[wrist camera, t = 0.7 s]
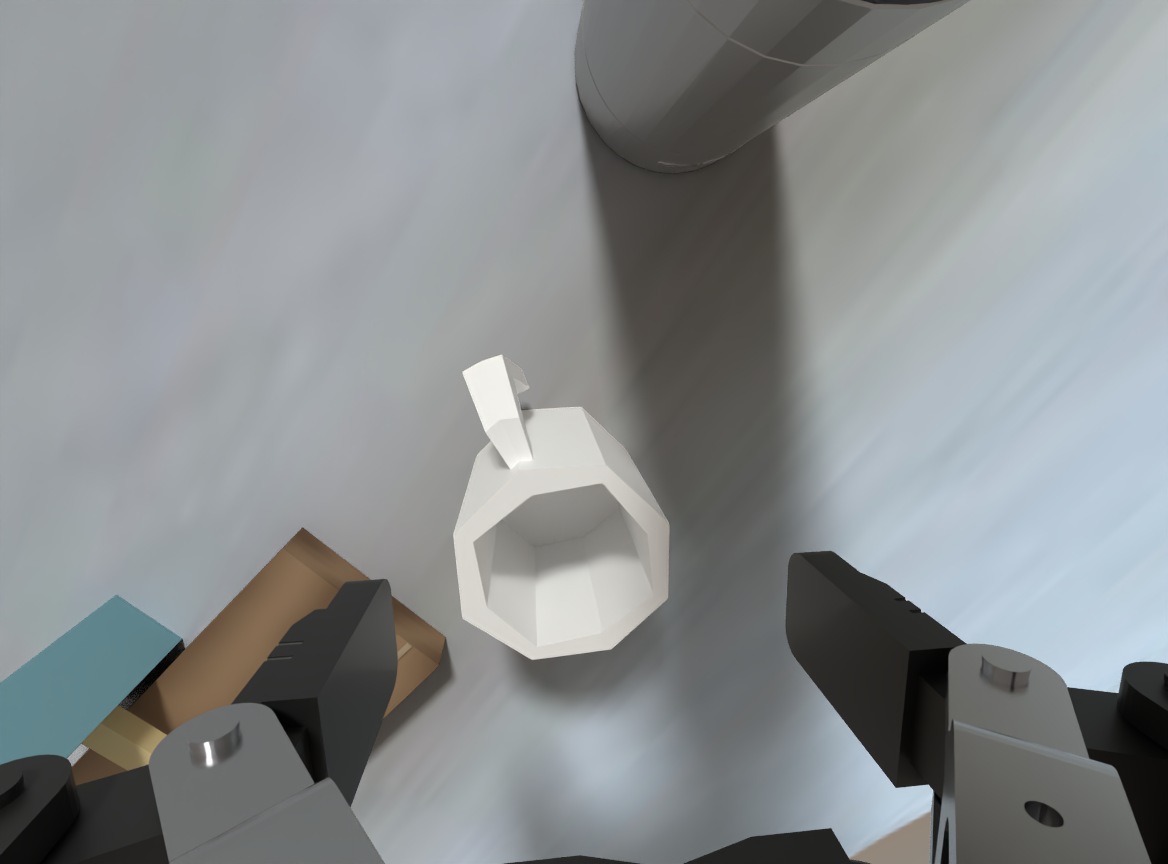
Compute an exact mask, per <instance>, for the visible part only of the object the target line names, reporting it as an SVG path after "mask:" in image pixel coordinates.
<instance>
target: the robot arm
mask: <svg viewBox="0 0 1168 864" xmlns="http://www.w3.org/2000/svg"><path fill="white" fill-rule="evenodd" d="M968 1H970V0H584V2H583V7H582V12H581V17H580V22H579V27H578V33H577V40H576V46H575V78H576V82H577V87H578V91H579V96H580V100H581V103H582V105H583V107H584V110H585V112H586V114H587V117H588V119H589V121H590V123H591V124H592V126H593V127H594V129H595V130H596V131H597V133H598V134H599V136H600V137H601V139H602V140H603V141H604V142H605V143H606V144H607V145H608V146H609V147H610V148H611V149H612V150H613V151H615V152H616V153H617V154H618V155H619V156H621V157H622V158H624V159H626V160H627V161H629V162H631V163H632V164H634V165H636V166H639V167H642V168H645V169H648V170H651V171H654V172H663V173H681V172H688V171H695V170H697V169H700V168H702V167H705V166H707V165H710V164H712V163H714V162H716V161H718V160H719V159H721V158H724V157H726V156H728V155H729V154H731V153H732V152H734V151H736V150H737V149H739V148H740V147H742V146H743V145H744V144H745V143H747V142H748V141H750V140H751V139H753V138H755V137H756V136H758V135H759V134H761V133H763V132H764V131H766V130H767V129H769V128H770V127H772V126H774V125H775V124H777V123H778V122H780V121H781V120H783V119H785V118H786V117H788V116H789V115H791V114H792V113H794V112H796V111H797V110H799V109H800V108H802V107H804V106H805V105H807V104H808V103H810V102H811V101H813V100H815V99H816V98H818V97H819V96H821V95H822V94H824V93H826V92H827V91H829V90H830V89H832V88H833V87H835V86H837V85H838V84H840V83H841V82H843V81H844V80H846V79H848V78H849V77H851V76H852V75H854V74H855V73H857V72H859V71H860V70H862V69H863V68H865V67H867V66H868V65H870V64H871V63H873V62H874V61H876V60H878V59H879V58H881V57H882V56H884V55H885V54H887V53H889V52H890V51H892V50H893V49H895V48H896V47H898V46H900V45H901V44H903V43H904V42H906V41H907V40H909V39H911V38H912V37H914V36H915V35H917V34H918V33H920V32H921V31H923V30H924V29H926V28H928V27H929V26H931V25H932V24H934V23H935V22H937V21H939V20H940V19H942V18H943V17H945V16H946V15H948V14H950V13H951V12H953V11H954V10H956V9H957V8H959V7H961V6H962V5H964V4H965V3H967V2H968ZM786 635H787V640H788V643H789V646H790V649H791V651H792V653H793V655H794V657H795V658H796V660H797V661H798V662H799V663H800V665H801V666H802V667H803V669H804V670H805V671H806V672H807V674H808V675H809V676H810V678H811V679H812V680H813V681H814V683H815V684H816V685H817V687H818V688H819V689H820V691H821V692H822V693H823V694H824V696H825V697H826V698H827V700H828V701H829V702H830V703H831V705H832V706H833V707H834V709H835V710H836V711H837V712H838V714H839V715H840V716H841V718H842V719H843V720H844V721H845V723H846V724H847V725H848V727H849V728H850V729H851V730H852V732H853V733H854V734H855V736H856V737H857V738H858V739H859V741H860V742H861V743H862V745H863V746H864V747H865V749H866V750H867V751H868V752H869V754H870V755H871V756H872V758H873V759H874V760H875V761H876V763H877V764H878V765H879V767H880V768H881V769H882V770H883V772H884V773H885V774H886V776H887V777H888V778H889V779H890V781H891V782H892V783H893V785H894V786H895V787H896V788H899V787H909V786H919V785H928V784H929V785H930V787H931V788H932V789H933V798H932V807H931V829H930V860H929V864H1168V664H1165V663H1158V662H1135V663H1131V664H1128V665H1127V666H1125V667H1124V669H1123V672H1122V678H1121V683H1120V689H1119V693H1111V692H1103V691H1094V690H1086V689H1077V688H1069V687H1067V686H1066V684H1065V682H1064V680H1063V679H1062V678H1061V676H1060V675H1059V674H1057V673H1056V672H1055V671H1054V670H1053V669H1051V668H1050V667H1048V666H1047V665H1045V664H1044V663H1042V662H1040V661H1038V660H1036V659H1034V658H1032V657H1030V656H1028V655H1025V654H1023V653H1020V652H1017V651H1014V650H1011V649H1007V648H1003V647H999V646H994V645H987V644H966V643H965V642H963V641H962V640H961V639H959V638H958V637H957V636H955V635H954V634H953V633H951V632H950V631H949V630H947V629H946V628H945V627H943V626H942V625H941V624H939V623H938V622H937V621H935V620H934V619H933V618H931V617H930V616H929V615H927V614H926V613H925V612H924V613H921V609H919V608H918V607H917V606H915V605H914V604H913V603H911V602H910V601H906V600H905V597H903V596H902V595H901V594H899V593H898V592H897V591H895V590H894V589H893V588H891V587H890V586H889V585H887V584H886V583H883V582H881V581H879V580H876V579H874V578H872V577H870V576H867V575H865V574H863V573H860V572H859V571H857V570H856V569H855V568H854V567H852V566H851V565H850V564H848V563H847V562H846V561H845V560H843V559H842V558H841V557H839V556H838V555H837V554H836V553H834V552H832V551H821V552H805V553H794V554H793V555H792V556H791V558H790V560H789V566H788V584H787V604H786ZM397 667H398V654H397V643H396V634H395V624H394V614H393V605H392V595H391V588H390V584H389V582H388V580H387V579H378V580H363V581H347V582H345V583H344V584H343V586H342V587H341V588H340V590H339V591H338V593H337V594H336V596H335V597H334V598H333V600H332V601H331V603H330V604H329V606H328V607H327V608H326V609H315V610H314V611H312V612H311V613H309V614H308V615H306V616H305V617H303V618H302V619H300V620H299V621H298V622H296V623H295V624H293V625H292V626H291V627H290V629H289V630H288V631H287V633H286V634H285V635H284V636H283V638H282V639H281V640H280V642H279V645H278V646H276V647H275V648H274V649H273V651H272V652H271V653H270V654H269V656H268V657H267V661H264V662H263V664H262V665H261V666H260V667H259V669H258V670H257V671H256V673H255V674H254V675H253V676H252V678H251V679H250V680H249V682H248V683H247V684H246V685H245V687H244V688H243V689H242V691H241V692H240V693H239V695H238V696H237V697H236V698H235V700H234V701H233V702H232V704H231V705H227V706H223V707H220V708H216V709H213V710H210V711H208V712H205V713H203V714H201V715H198V716H196V717H194V718H192V719H190V720H189V721H187V722H185V723H183V724H182V725H180V726H179V727H177V728H176V729H174V730H173V731H172V732H171V733H169V734H168V735H167V736H166V737H165V738H164V739H163V740H162V741H161V742H160V743H159V744H158V745H157V746H156V748H155V749H154V751H153V752H152V754H151V756H150V760H149V764H148V765H145V766H142V767H139V768H135V769H132V770H128V771H125V772H121V773H118V774H115V775H111V776H108V777H104V778H101V779H97V780H94V781H90V782H87V783H83V784H80V785H76V783H75V779H74V775H73V771H72V766H71V763H70V762H69V760H68V759H66V758H64V757H62V756H59V755H49V754H47V755H36V756H30V757H25V758H21V759H17V760H13V761H10V762H7V763H4V764H1V765H0V864H385V863H384V861H383V860H382V858H381V857H380V855H379V853H378V852H377V850H376V849H375V847H374V845H373V844H372V842H371V840H370V839H369V837H368V836H367V834H366V832H365V831H364V829H363V827H362V826H361V824H360V823H359V821H358V819H357V818H356V816H355V815H354V813H353V811H352V810H351V808H350V807H351V804H352V802H353V799H354V796H355V794H356V791H357V788H358V785H359V783H360V780H361V777H362V774H363V772H364V769H365V766H366V764H367V761H368V758H369V755H370V753H371V750H372V747H373V745H374V742H375V739H376V736H377V734H378V731H379V728H380V726H381V723H382V720H383V717H384V715H385V712H386V709H387V706H388V704H389V701H390V698H391V696H392V693H393V690H394V687H395V683H396V677H397ZM506 864H638V863H631V862H624V861H616V860H609V859H602V858H595V857H587V856H570V857H561V858H552V859H543V860H533V861H524V862H515V863H506ZM684 864H870V863H865V862H862V861H856V860H850V859H849V858H848V856H847V855H846V853H845V851H844V849H843V848H842V846H841V844H840V843H839V841H838V839H837V838H836V836H835V834H834V832H833V831H832V829H831V828H829V829H820V830H811V831H802V832H792V833H783V834H774V835H765V836H755V837H750V838H747V839H745V840H742V841H740V842H737V843H735V844H732V845H730V846H727V847H725V848H722V849H720V850H717V851H715V852H712V853H710V854H707V855H705V856H702V857H699V858H697V859H694V860H692V861H689V862H687V863H684Z"/></svg>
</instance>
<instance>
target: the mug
mask: <svg viewBox="0 0 1168 864" xmlns="http://www.w3.org/2000/svg"><path fill="white" fill-rule="evenodd" d="M462 373H463V376H464V378H465V381H466V383H467V386H468V388H469V391H470V394H471V396H472V399H473V401H474V404H475V406H476V409H477V412H478V414H479V417H480V419H481V422H482V425H483V427H484V430H485V432H486V434H487V435H488V437H489V438H490V440H491V441H490V442H489V443H488V444H487V445H486V446H485V447H484V448H483V449H482V450H481V451H480V452H479V453H478V454H477V456H476V460H475V463H474V466H473V470H472V473H471V476H470V480H469V483H468V487H467V490H466V493H465V497H464V500H463V504H462V507H461V510H460V514H459V517H458V520H457V524H456V527H455V531H454V534H453V537H454V546H455V555H456V564H457V573H458V583H459V592H460V601H461V610H462V618H463V619H464V620H466V621H468V622H469V623H471V624H473V625H474V626H476V627H478V628H479V629H481V630H483V631H484V632H486V633H488V634H489V635H491V636H493V637H494V638H496V639H498V640H499V641H501V642H503V643H504V644H506V645H508V646H509V647H511V648H513V649H514V650H516V651H518V652H520V653H521V654H523V655H525V656H526V657H528V658H530V659H531V660H536V659H544V658H551V657H558V656H566V655H573V654H581V653H588V652H596V651H603V650H611V649H612V648H613V647H614V646H616V645H617V644H618V643H619V642H620V641H621V640H622V639H623V638H625V637H626V636H627V635H628V634H629V633H630V632H631V631H632V630H633V629H635V628H636V627H637V626H638V625H639V624H640V623H641V622H642V621H644V620H645V619H646V618H647V617H648V616H649V615H650V614H651V613H652V612H654V611H655V610H656V609H657V608H658V607H659V606H660V605H661V604H663V603H664V602H665V601H666V600H667V599H668V579H669V531H670V524H669V522H668V520H667V519H666V517H665V515H664V513H663V512H662V510H661V508H660V507H659V505H658V503H657V501H656V500H655V498H654V496H653V495H652V493H651V491H650V489H649V488H648V486H647V484H646V483H645V481H644V479H643V477H642V476H641V474H640V472H639V471H638V469H637V467H636V465H635V464H634V462H633V460H632V459H631V457H630V455H629V453H628V452H627V450H626V449H625V448H624V447H623V446H622V445H621V444H620V443H619V442H618V441H617V440H616V439H615V438H614V437H613V436H612V435H611V434H609V433H608V432H607V431H606V430H605V429H604V428H603V427H602V426H601V425H600V424H599V423H598V422H597V421H596V420H595V419H594V418H593V417H592V416H591V415H590V414H588V413H587V412H586V411H585V410H584V409H583V408H582V407H568V408H550V409H532V410H522V411H521V407H520V403H519V399H518V395H517V394H519V393H521V392H523V391H525V390H527V389H529V385H528V383H527V381H526V378H525V376H524V374H523V371H522V369H521V368H520V367H519V366H517V365H516V364H515V363H513V362H512V361H510V360H509V359H507V358H506V357H505V356H503V355H499V356H496V357H493V358H489V359H486V360H483V361H481V362H479V363H477V364H475V365H474V366H472V367H470V368H468V369H467V370H465V371H463V372H462Z"/></svg>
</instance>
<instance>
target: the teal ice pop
mask: <svg viewBox="0 0 1168 864" xmlns="http://www.w3.org/2000/svg"><path fill="white" fill-rule="evenodd" d="M181 639H182V638H180V637H179V636H177V635H176V634H174V633H173V632H171V631H170V630H168V629H167V628H165V627H164V626H162V625H161V624H159V623H158V622H156V621H155V620H153V619H152V618H150V617H149V616H147V615H146V614H144V613H143V612H141V611H140V610H138V609H137V608H135V607H134V606H132V605H131V604H129V603H128V602H126V601H125V600H123V599H122V598H120V597H119V596H117V595H115V596H114V597H113V598H111V599H110V600H109V601H108V602H106V603H105V604H104V605H102V606H101V607H100V608H98V609H97V610H96V611H94V612H93V613H92V614H90V615H89V616H88V617H86V618H85V619H84V620H83V621H81V622H80V623H79V624H77V625H76V626H75V627H73V628H72V629H71V630H69V631H68V632H67V633H65V634H64V635H63V636H61V637H60V638H59V639H57V640H56V641H55V642H54V643H52V644H51V645H50V646H48V647H47V648H46V649H44V650H43V651H42V652H40V653H39V654H38V655H36V656H35V657H34V658H32V659H31V660H30V661H29V662H27V663H26V664H25V665H23V666H22V667H21V668H19V669H18V670H17V671H15V672H14V673H13V674H11V675H10V676H9V677H7V678H6V679H5V680H3V681H2V682H1V683H0V765H1V764H4V763H7V762H10V761H13V760H17V759H21V758H25V757H30V756H36V755H47V754H49V755H59V756H62V757H64V758H66V759H67V758H68V757H69V755H70V754H71V753H72V752H73V751H74V750H75V749H76V748H77V747H78V746H79V745H80V744H83V745H85V746H87V747H88V748H90V749H92V750H93V751H95V752H97V753H98V754H100V755H102V756H104V757H105V758H107V759H109V760H110V761H112V762H114V763H116V764H117V765H119V766H121V767H122V768H124V769H126V770H127V771H128V770H132V769H135V768H139V767H142V766H145V765H148V764H149V760H150V756H151V754H152V752H153V751H154V749H155V748H156V746H157V745H158V744H159V743H160V742H161V741H162V740H163V739H164V738H165V737H166V736H167V735H166V734H164V733H163V732H161V731H160V730H158V729H156V728H155V727H153V726H151V725H150V724H148V723H147V722H145V721H143V720H142V719H140V718H138V717H137V716H135V715H134V714H132V713H130V712H129V711H127V710H125V709H124V708H122V707H121V706H119V704H120V703H121V702H122V701H123V700H124V699H125V698H126V697H127V696H128V695H129V694H130V692H131V691H132V690H133V689H134V688H135V687H136V686H137V685H138V684H139V683H140V682H141V681H142V680H143V679H144V678H145V677H146V676H147V675H148V674H149V673H150V672H151V671H152V670H153V669H154V667H155V666H156V665H157V664H158V663H159V662H160V661H161V660H162V659H163V658H164V657H165V656H166V655H167V654H168V653H169V652H170V651H171V650H172V649H173V648H174V647H175V646H176V645H177V644H178V642H179V641H180V640H181Z"/></svg>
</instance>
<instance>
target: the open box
mask: <svg viewBox="0 0 1168 864" xmlns="http://www.w3.org/2000/svg"><path fill="white" fill-rule="evenodd" d="M363 580H370V579H369V578H368V577H366V576H365V575H364V574H362V573H361V572H360V571H359V570H357V569H356V568H355V567H353V566H352V565H351V564H349V563H348V562H347V561H346V560H344V559H343V558H342V557H340V556H339V555H338V554H336V553H335V552H334V551H332V550H331V549H330V548H329V547H327V546H326V545H325V544H323V543H322V542H321V541H319V540H318V539H317V538H316V537H314V536H313V535H312V534H310V533H309V532H308V531H306V530H305V529H304V528H302V529H301V530H300V531H299V532H298V533H297V534H296V535H295V536H294V537H293V538H292V539H291V540H290V541H289V542H288V543H287V544H286V545H285V546H284V547H283V548H282V549H281V550H280V551H279V552H278V553H277V554H276V556H275V557H274V558H273V559H272V560H271V561H270V562H269V563H268V564H267V565H266V566H265V567H264V568H263V569H262V570H261V571H260V572H259V573H258V574H257V575H256V576H255V577H254V578H253V579H252V580H251V581H250V582H249V584H248V585H247V586H246V587H245V588H244V589H243V590H242V591H241V592H240V593H239V594H238V595H237V596H236V597H235V598H234V599H233V600H232V601H231V602H230V603H229V604H228V605H227V606H226V607H225V608H224V609H223V610H222V612H221V613H220V614H219V615H218V616H217V617H216V618H215V619H214V620H213V621H212V622H211V623H210V624H209V625H208V626H207V627H206V628H205V629H204V630H203V631H202V632H201V633H200V634H199V635H198V636H197V637H196V638H195V640H194V641H193V642H192V643H191V644H190V645H189V646H188V647H187V648H186V649H185V650H184V651H183V652H182V653H181V654H180V655H179V656H178V657H177V658H176V659H175V660H174V661H173V662H172V663H171V664H170V665H169V666H168V668H167V669H166V670H165V671H164V672H163V673H162V674H161V675H160V676H159V677H158V678H157V679H156V680H155V681H154V682H153V683H152V684H151V685H150V686H149V687H148V688H147V689H146V690H145V691H144V692H143V693H142V694H141V696H140V697H139V698H138V699H137V700H136V701H135V702H134V703H133V704H132V705H131V706H130V707H129V708H128V709H127V711H129V712H130V713H132V714H134V715H135V716H137V717H138V718H140V719H142V720H143V721H145V722H147V723H148V724H150V725H151V726H153V727H155V728H156V729H158V730H160V731H161V732H163V733H164V734H166V735H168V734H169V733H171V732H172V731H173V730H174V729H176V728H177V727H179V726H180V725H182V724H183V723H185V722H187V721H189V720H190V719H192V718H194V717H196V716H198V715H201V714H203V713H205V712H208V711H210V710H213V709H216V708H220V707H223V706H227V705H231V704H232V702H233V701H234V700H235V698H236V697H237V696H238V695H239V693H240V692H241V691H242V689H243V688H244V687H245V685H246V684H247V683H248V682H249V680H250V679H251V678H252V676H253V675H254V674H255V673H256V671H257V670H258V669H259V667H260V666H261V665H262V664H263V662H264V661H267V657H268V656H269V654H270V653H271V652H272V651H273V649H274V648H275V647H276V646H278V645H279V642H280V640H281V639H282V638H283V636H284V635H285V634H286V633H287V631H288V630H289V629H290V627H291V626H292V625H293V624H295V623H296V622H298V621H299V620H300V619H302V618H303V617H305V616H306V615H308V614H309V613H311V612H312V611H314V610H315V609H326V608H327V607H328V606H329V604H330V603H331V601H332V600H333V598H334V597H335V596H336V594H337V593H338V591H339V590H340V588H341V587H342V586H343V584H344V583H345V582H347V581H363ZM392 605H393V614H394V624H395V634H396V643H397V654H398V667H397V677H396V683H395V687H394V690H393V693H392V696H391V698H390V701H389V704H388V706H387V709H386V712H385V715H384V717H383V719H384V718H385V717H386V716H387V715H388V714H389V713H390V712H391V711H392V710H393V709H394V708H395V707H396V706H397V705H398V704H399V703H400V702H401V701H403V700H404V699H405V698H406V697H407V696H408V695H409V694H410V693H411V692H412V691H413V690H414V689H415V688H416V687H417V686H418V685H419V684H420V683H421V682H422V681H424V680H425V679H426V678H427V677H428V676H429V675H430V674H431V673H432V672H433V671H434V670H435V669H436V668H437V667H438V666H439V664H440V659H441V655H442V651H443V646H444V642H445V638H446V637H445V636H443V635H442V634H441V633H439V632H438V631H437V630H435V629H434V628H433V627H432V626H430V625H429V624H428V623H426V622H425V621H424V620H422V619H421V618H420V617H418V616H417V615H416V614H415V613H413V612H412V611H411V610H409V609H408V608H407V607H405V606H404V605H403V604H402V603H400V602H399V601H398V600H396V599H395V598H394V597H392ZM72 771H73V775H74V779H75V783H76V785H80V784H83V783H87V782H90V781H94V780H97V779H101V778H104V777H108V776H111V775H115V774H118V773H121V772H125V771H127V770H126V769H124V768H122V767H121V766H119V765H117V764H116V763H114V762H112V761H110V760H109V759H107V758H105V757H104V756H102V755H100V754H98V753H97V752H95V751H93V750H92V749H90V748H89V749H88V751H87V752H86V753H85V754H84V755H83V756H82V757H81V758H80V759H79V760H78V761H77V762H76V763H75V764H74V765H73V766H72Z"/></svg>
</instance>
